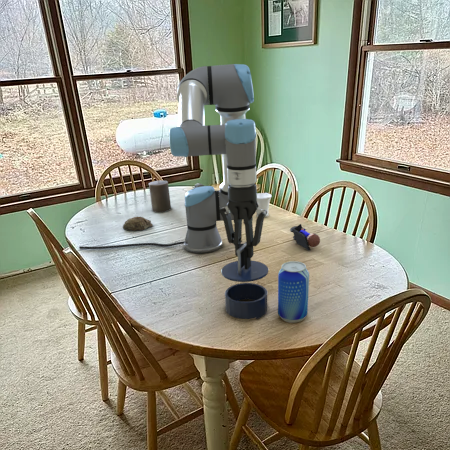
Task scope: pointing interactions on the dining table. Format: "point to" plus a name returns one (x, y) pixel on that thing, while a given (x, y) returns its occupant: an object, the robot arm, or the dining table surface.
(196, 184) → the toy dinosaur
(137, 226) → the bread roll
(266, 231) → the dining table surface
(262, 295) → the pot
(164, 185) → the pillar candle
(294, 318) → the beer can
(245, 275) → the lid
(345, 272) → the dining table surface
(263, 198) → the cup
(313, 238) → the character figurine
